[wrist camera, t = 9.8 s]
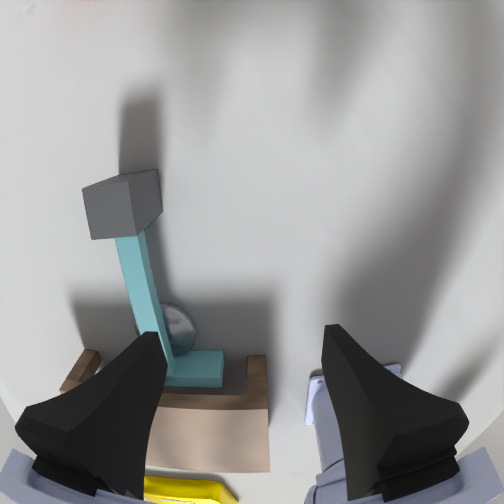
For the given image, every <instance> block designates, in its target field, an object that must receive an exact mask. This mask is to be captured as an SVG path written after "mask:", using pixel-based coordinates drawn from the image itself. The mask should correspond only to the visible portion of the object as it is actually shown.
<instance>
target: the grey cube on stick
mask: <svg viewBox="0 0 504 504" xmlns="http://www.w3.org/2000/svg"><path fill="white" fill-rule="evenodd" d="M82 193H83V199H84V204H85V210H86V215H87V220H88V225H89V230H90V234H91V239H92V240H96V239H108V238H115V242H116V246H117V251H118V255H119V260H120V264H121V268H122V272H123V276H124V280H125V284H126V288H127V291H128V295H129V299H130V302H131V306H132V309H133V313H134V316H135V319H136V322H137V326H138V329H139V332H140V335H141V334H143V333H144V332H145V331H158V334H159V337H160V341H161V344H162V347H163V351H164V354H165V357H166V360H167V363H168V369H167V375H166V380H165V385H164V386H176V387H200V388H221V387H222V378H223V369H224V354H223V350H212V351H204V350H189V351H188V352H187V353H185V354H183V355H180V356H175V357H173V354H172V350H171V347H170V343H169V339H168V336H167V332H166V328H165V324H164V321H163V317H162V313H161V309H160V305H159V300H158V296H157V292H156V287H155V283H154V278H153V274H152V269H151V264H150V259H149V254H148V249H147V244H146V238H145V233H144V229H145V228H146V227H147V226H148V225H149V224H150V223H151V222H152V221H154V220H155V219H156V218H157V217H158V216H159V215H160V214H161V213H162V212H163V210H162V202H161V195H160V187H159V178H158V169H156V170H148V171H141V172H134V173H128V174H121V175H117V176H114V177H111V178H109V179H106V180H103V181H101V182H98V183H95V184H93V185H90V186H88V187H85V188H83V189H82Z"/></svg>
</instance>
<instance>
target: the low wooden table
mask: <svg viewBox="0 0 504 504" xmlns="http://www.w3.org/2000/svg"><path fill="white" fill-rule="evenodd" d="M100 363H101V361H100V358H99V356H98V354H97V352H96V351H92V350H84V351H83V353H82V354H81V356H80V357H79V359H78V360H77V362H76V364H75V365H74V367H73V368H72V370H71V371H70V373H69V375H68V376H67V378H66V380H65V381H64V383H63V384H62V386H61V388H60V389H59V391H60V392H61V394H63V393H65V392H67V391H69V390H71V389H73V388H74V387H76V386H78V385H80V384H82V383H83V382H85V381H86V380H88V379H89V378H91V377H92V376H94V374H95V372H96V370H97V369H98V367H99V365H100ZM145 465H151V466H157V467H164V468H172V469H180V470H190V471H203V472H222V473H262V472H270V455H269V429H268V405H267V383H266V361H265V355H257V356H248V367H247V395H195V394H174V393H162V394H161V397H160V401H159V404H158V407H157V410H156V413H155V416H154V419H153V422H152V426H151V430H150V435H149V441H148V447H147V455H146V463H145Z"/></svg>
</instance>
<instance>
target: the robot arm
mask: <svg viewBox="0 0 504 504" xmlns="http://www.w3.org/2000/svg"><path fill="white" fill-rule="evenodd" d="M321 362H322V368H323V373H324V375H322V376H314V377H311V378H310V380H309V388H308V397H307V406H306V414H305V424H307V425H311V424H314V426H315V432H316V438H317V444H318V450H319V456H320V462H321V468H322V473H321V474H318V475H316V481H317V485H314V486H312V487H311V488H310V489H309V491H308V494H307V496H306V498H305V502H304V504H488V503H489V502H491V501H492V500H493V499H495V498H496V497H498V496H499V495H500V494H502V493H503V492H504V488H503V485H502V483H501V480H500V478H499V476H498V474H497V471H496V469H495V467H494V465H493V463H492V461H491V459H490V457H489V455H488V453H487V451H486V449H485V447H482V448H480V449H478V450H476V451H474V452H472V453H470V454H468V455H466V456H464V457H462V458H461V459H459V460H458V461H457V462H456V460H455V457H454V456H455V455H456V454H457V451H456V449H455V447H454V446H455V444H456V443H457V442H458V441H459V439H460V438H461V437H462V436H463V434H464V433H465V432H466V430H467V428H468V425H469V420H468V418H467V416H466V414H465V412H464V411H463V409H462V407H461V406H460V404H459V403H456V402H453V401H450V400H447V399H443V398H440V397H438V396H435V395H433V394H430V393H428V392H426V391H423V390H421V389H419V388H417V387H415V386H413V385H412V384H410V383H408V382H406V381H404V380H403V378H402V376H401V374H400V370H401V366H400V364H393V365H388V366H382V365H381V364H380V363H379V362H377V361H376V360H375V359H374V358H373V357H372V356H370V355H369V354H368V353H367V352H366V351H365V350H364V349H363V348H362V347H361V346H360V345H359V344H358V343H357V342H356V341H355V340H354V339H353V338H352V337H351V336H350V335H349V334H348V333H347V332H346V331H345V330H344V329H343V328H342V327H341V326H340V325H339V324H334V325H325V330H324V340H323V349H322V358H321ZM167 369H168V363H167V360H166V357H165V354H164V351H163V347H162V344H161V341H160V337H159V334H158V331H145V332H144V333H143V334H141V335H140V336H139V337H138V338H137V339H136V340H135V341H134V342H133V343H132V344H131V345H130V346H128V347H127V348H126V349H125V350H124V351H123V352H122V353H121V354H120V355H119V356H117V357H116V358H115V359H114V360H113V361H112V362H110V363H109V364H108V365H107V366H105V367H104V368H103V369H102V370H101V371H99V372H98V373H97V374H95V375H94V376H92V377H91V378H89V379H88V380H86V381H85V382H83V383H82V384H80V385H78V386H76V387H74V388H73V389H71V390H69V391H67V392H65V393H63V394H61V395H59V396H57V397H54V398H52V399H49V400H47V401H44V402H41V403H38V404H34V405H31V406H27V407H26V408H25V410H24V412H23V413H22V415H21V417H20V418H19V420H18V422H17V423H16V425H15V430H16V432H17V434H18V436H19V437H20V438H21V439H22V440H23V441H24V442H25V443H26V444H27V446H28V447H29V448H30V449H31V450H33V452H34V453H35V454H36V455H37V457H36V460H34V459H33V458H31V457H30V456H28V455H26V454H24V453H22V452H20V451H18V450H16V449H12V451H11V453H10V455H9V457H8V459H7V461H6V463H5V465H4V467H3V469H2V471H1V473H0V492H2V493H3V494H4V495H6V496H7V497H9V498H10V499H12V500H13V501H14V502H16V503H17V504H158V503H152V502H147V501H144V475H145V463H146V455H147V447H148V441H149V435H150V430H151V426H152V422H153V419H154V416H155V413H156V410H157V407H158V404H159V401H160V397H161V394H162V391H163V388H164V385H165V380H166V375H167ZM319 380H320V381H319Z"/></svg>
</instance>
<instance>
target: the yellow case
mask: <svg viewBox="0 0 504 504" xmlns="http://www.w3.org/2000/svg"><path fill="white" fill-rule="evenodd" d="M144 498H145V499H147V500H148V501H150V502H152V503H158V504H238V501H237V500H236V499H235V497H234V496H233V495H232V494H231V493H230V492H229V491H228V490H227V488H226V487H225V486H224V485H223V484H222V483H220V482H216V481H211V480H188V479H173V478H162V477H153V476H144Z"/></svg>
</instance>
